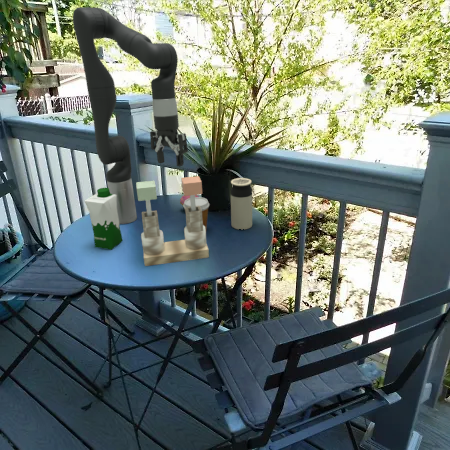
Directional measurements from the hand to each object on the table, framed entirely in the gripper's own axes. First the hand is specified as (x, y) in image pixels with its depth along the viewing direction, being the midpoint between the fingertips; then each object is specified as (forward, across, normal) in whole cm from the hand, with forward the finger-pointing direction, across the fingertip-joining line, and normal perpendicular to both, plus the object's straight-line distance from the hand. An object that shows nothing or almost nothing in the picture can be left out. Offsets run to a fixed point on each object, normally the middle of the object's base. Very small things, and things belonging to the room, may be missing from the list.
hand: (170, 164), depth 131 cm
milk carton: (+28, +20, +15) cm, 38 cm away
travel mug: (+28, -11, -24) cm, 39 cm away
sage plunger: (+14, -1, +12) cm, 19 cm away
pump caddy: (+29, -5, +6) cm, 30 cm away
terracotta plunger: (+14, -10, +2) cm, 17 cm away
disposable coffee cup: (+28, 0, -11) cm, 30 cm away
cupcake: (+27, +15, -24) cm, 39 cm away
